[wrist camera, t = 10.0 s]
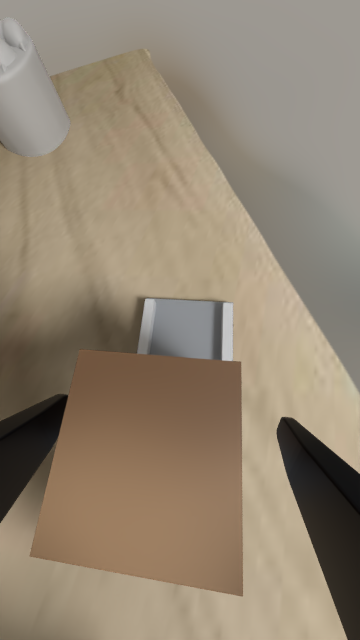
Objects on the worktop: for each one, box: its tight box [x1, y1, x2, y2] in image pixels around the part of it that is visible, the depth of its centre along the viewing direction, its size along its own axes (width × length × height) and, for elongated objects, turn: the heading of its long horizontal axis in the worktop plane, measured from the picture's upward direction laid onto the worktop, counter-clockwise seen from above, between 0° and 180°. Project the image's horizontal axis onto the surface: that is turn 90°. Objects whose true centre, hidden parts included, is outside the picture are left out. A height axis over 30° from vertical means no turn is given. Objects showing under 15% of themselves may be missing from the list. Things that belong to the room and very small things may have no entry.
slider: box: [137, 298, 233, 361], centre depth 16 cm, size 15×8×2 cm, turn 175°
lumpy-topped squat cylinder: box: [0, 18, 70, 157], centre depth 25 cm, size 10×13×9 cm
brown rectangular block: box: [30, 349, 243, 596], centre depth 10 cm, size 5×5×12 cm
